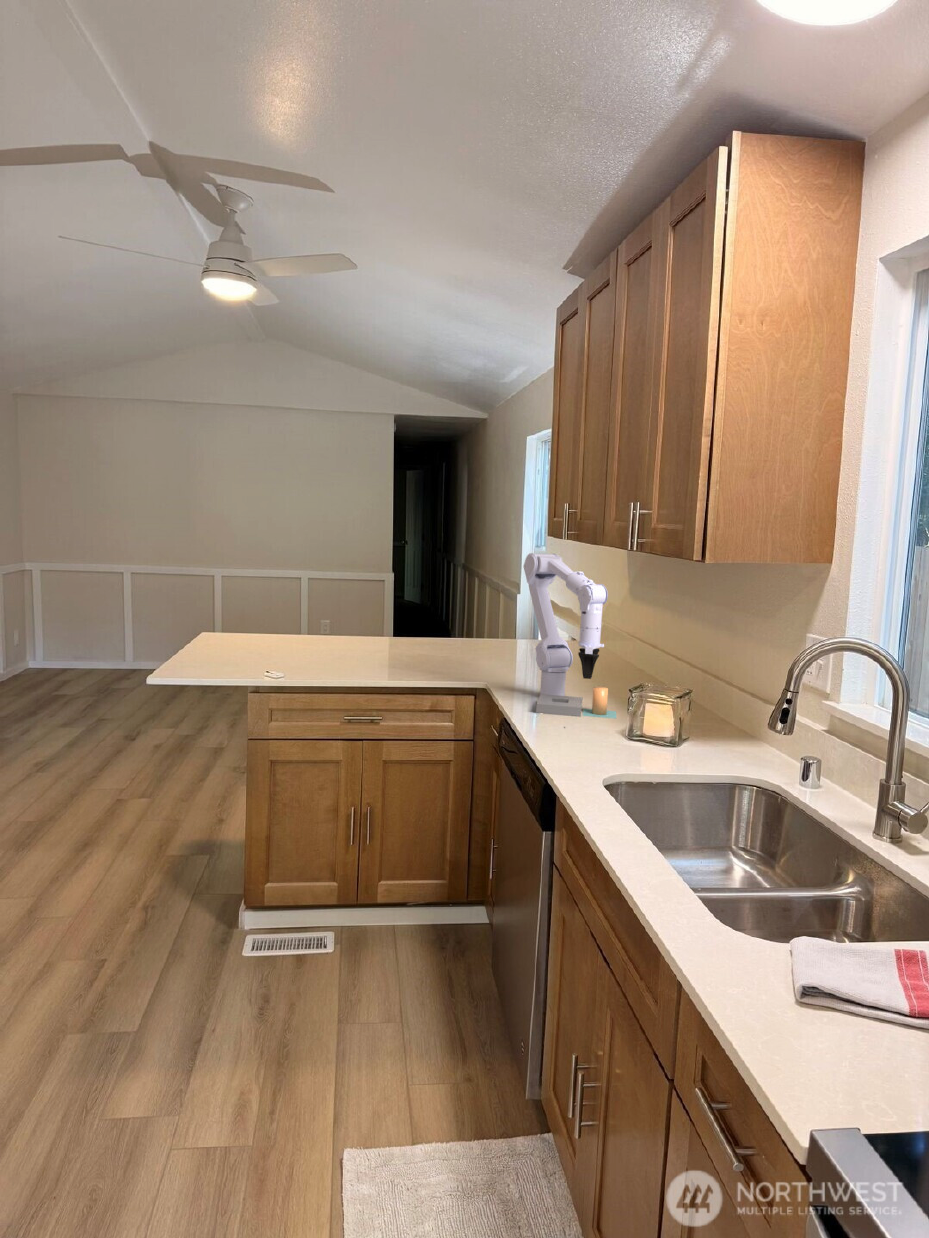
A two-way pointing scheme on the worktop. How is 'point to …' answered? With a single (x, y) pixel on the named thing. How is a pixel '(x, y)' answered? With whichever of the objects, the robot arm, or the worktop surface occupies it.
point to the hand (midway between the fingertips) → (587, 676)
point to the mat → (609, 715)
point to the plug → (600, 700)
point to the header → (559, 705)
